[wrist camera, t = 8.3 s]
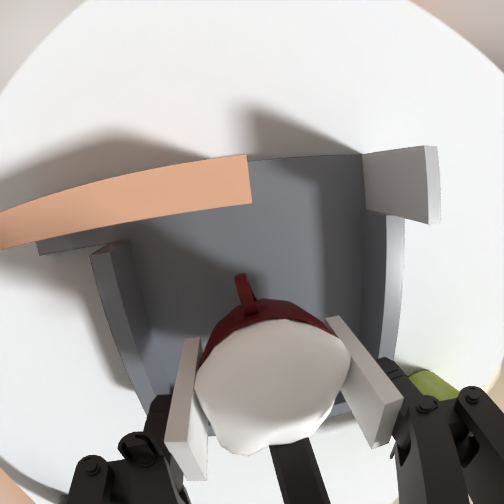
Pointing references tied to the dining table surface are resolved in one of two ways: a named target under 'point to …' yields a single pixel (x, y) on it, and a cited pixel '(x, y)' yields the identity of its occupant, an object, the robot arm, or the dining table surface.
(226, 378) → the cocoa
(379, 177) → the box
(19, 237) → the cover
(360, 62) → the dining table surface
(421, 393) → the robot arm
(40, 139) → the dining table surface
